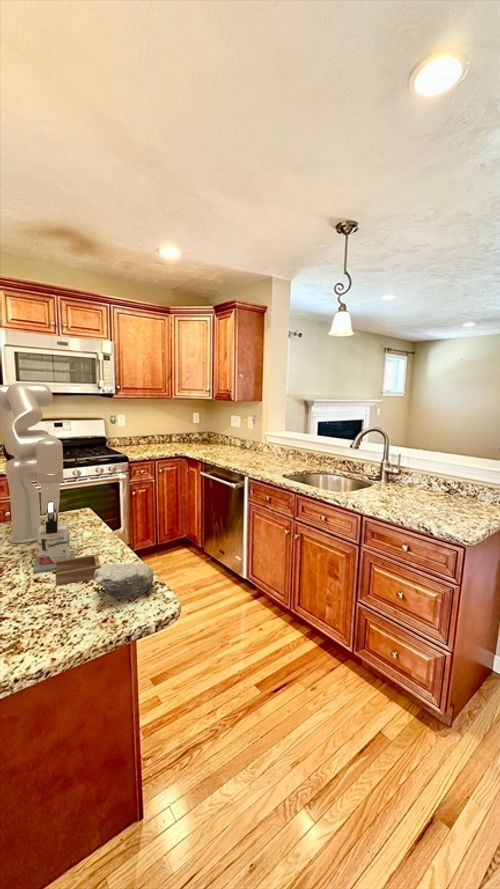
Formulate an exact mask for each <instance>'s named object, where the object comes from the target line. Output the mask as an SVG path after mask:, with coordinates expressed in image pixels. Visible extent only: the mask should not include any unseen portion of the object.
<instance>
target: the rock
mask: <svg viewBox="0 0 500 889" xmlns="http://www.w3.org/2000/svg"><path fill="white" fill-rule="evenodd" d="M93 580H94V581H95V582H96V583H97V584H98V585H99V586H100V587H103V588H104V592H105V594H106V595H108V596H109V597H111V598H113V599H118V598H120V599H125V600H130V599H132V598H133V597H135V596H137V595H142V594H144V593H145V592H147V591H149V590H150V589H151V588H152V586H153V583H154V570H153V568H152V567H151V566H148V565H147V564H145V563H142V562H141V563H120V564H119V563H112V564H108V565H104V566H103V567H102V566H101V568H99V569H96V570H95V573H94V579H93Z"/></svg>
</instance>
